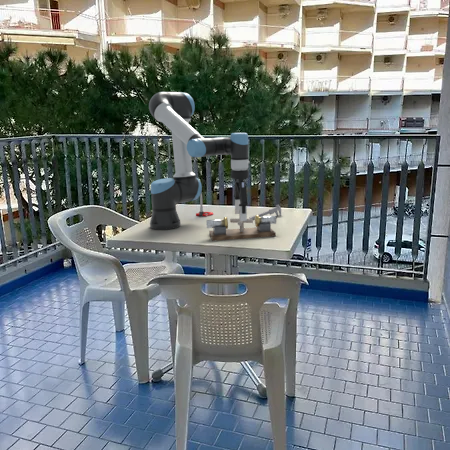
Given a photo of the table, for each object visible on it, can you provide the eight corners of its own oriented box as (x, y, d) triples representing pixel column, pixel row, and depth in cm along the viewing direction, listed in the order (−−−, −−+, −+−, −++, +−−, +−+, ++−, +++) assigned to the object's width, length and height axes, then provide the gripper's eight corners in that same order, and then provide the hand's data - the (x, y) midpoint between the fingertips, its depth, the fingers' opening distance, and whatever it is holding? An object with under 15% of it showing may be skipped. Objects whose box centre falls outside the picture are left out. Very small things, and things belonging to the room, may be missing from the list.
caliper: (280, 215, 228) (280, 203, 226) (281, 215, 227) (281, 204, 225) (247, 220, 219) (246, 208, 217) (248, 220, 218) (247, 208, 217)
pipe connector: (251, 234, 184) (250, 212, 181) (228, 234, 186) (227, 212, 183) (254, 229, 193) (254, 207, 191) (232, 228, 195) (232, 207, 193)
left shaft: (208, 235, 185) (207, 220, 183) (206, 232, 191) (205, 217, 189) (228, 234, 186) (227, 218, 184) (226, 231, 192) (225, 215, 190)
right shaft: (257, 232, 187) (257, 216, 186) (254, 229, 193) (254, 213, 192) (277, 230, 189) (277, 215, 187) (273, 227, 194) (273, 212, 193)
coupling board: (212, 240, 182) (212, 237, 182) (209, 233, 194) (209, 230, 194) (275, 236, 186) (275, 232, 186) (269, 229, 197) (269, 226, 197)
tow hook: (203, 213, 242) (194, 215, 234) (202, 190, 239) (193, 192, 231) (215, 214, 238) (207, 217, 230) (215, 191, 235) (206, 193, 227)
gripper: (254, 172, 172) (254, 223, 177) (243, 165, 196) (243, 210, 201) (236, 173, 171) (237, 224, 176) (227, 166, 195) (228, 211, 200)
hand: (240, 217), depth 188 cm, fingers open, 13 cm apart
